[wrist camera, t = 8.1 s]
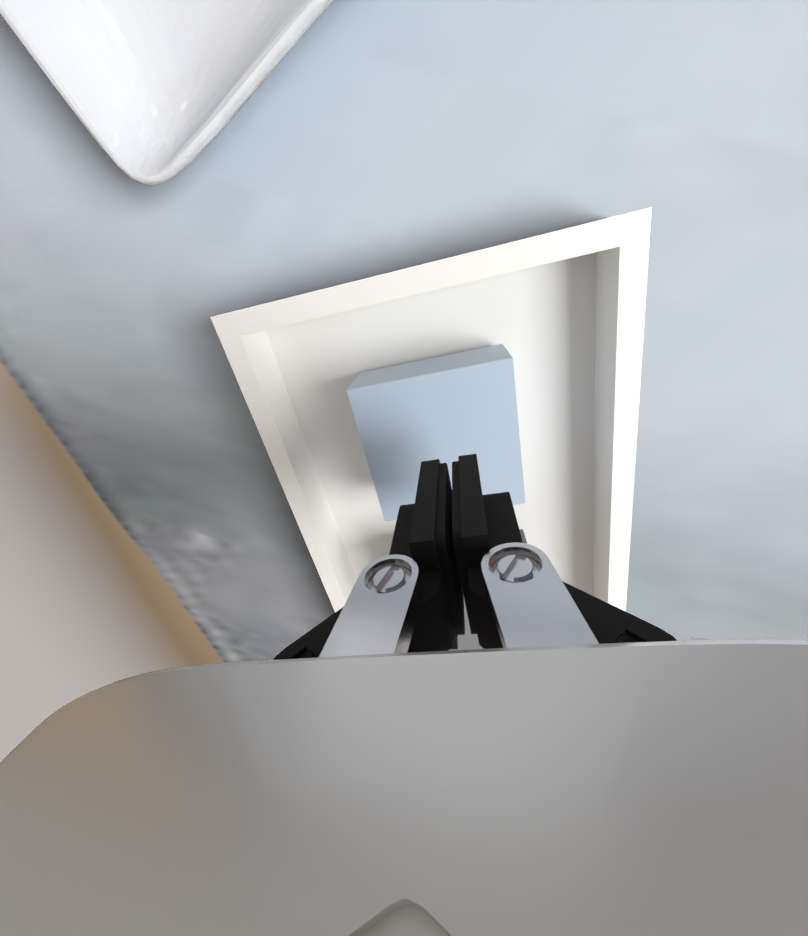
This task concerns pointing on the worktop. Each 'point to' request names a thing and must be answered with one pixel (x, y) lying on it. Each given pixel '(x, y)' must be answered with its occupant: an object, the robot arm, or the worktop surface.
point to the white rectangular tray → (452, 331)
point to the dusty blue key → (439, 422)
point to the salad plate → (157, 67)
